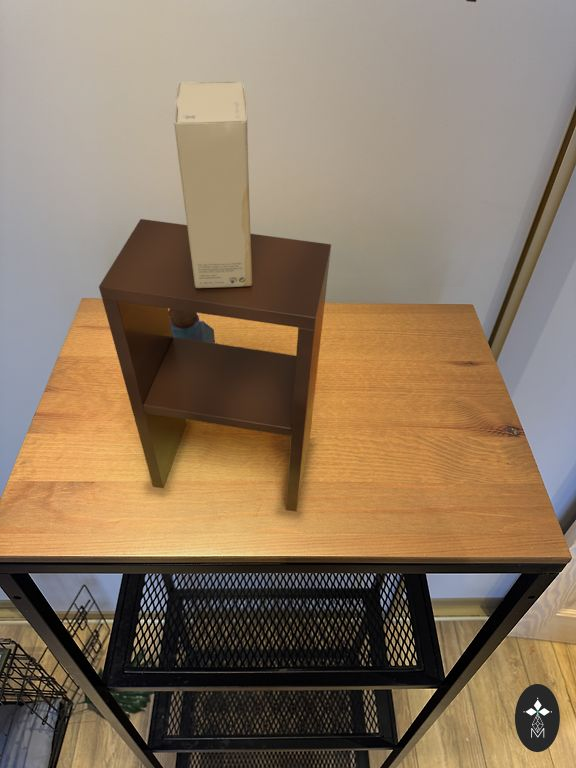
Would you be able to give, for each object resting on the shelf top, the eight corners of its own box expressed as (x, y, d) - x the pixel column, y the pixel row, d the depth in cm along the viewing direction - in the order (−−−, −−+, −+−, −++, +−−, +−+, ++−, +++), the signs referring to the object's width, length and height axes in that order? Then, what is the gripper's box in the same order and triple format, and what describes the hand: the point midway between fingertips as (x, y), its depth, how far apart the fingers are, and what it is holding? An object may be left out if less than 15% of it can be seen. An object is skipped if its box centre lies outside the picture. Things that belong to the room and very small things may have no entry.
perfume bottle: (168, 365, 75) (156, 294, 65) (216, 363, 75) (210, 292, 66) (166, 402, 70) (152, 332, 61) (217, 400, 71) (210, 330, 62)
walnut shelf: (309, 444, 67) (331, 243, 46) (296, 512, 61) (315, 318, 40) (177, 422, 69) (140, 218, 47) (152, 486, 63) (98, 286, 42)
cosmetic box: (253, 289, 42) (250, 123, 33) (191, 290, 42) (172, 123, 32) (249, 238, 46) (246, 79, 37) (193, 239, 46) (177, 78, 37)
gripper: (505, -354, 29) (432, 11, 41) (801, -341, 28) (636, 31, 40) (495, -341, 34) (433, -18, 46) (747, -330, 33) (615, -1, 45)
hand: (527, 4), depth 43 cm, fingers open, 8 cm apart
